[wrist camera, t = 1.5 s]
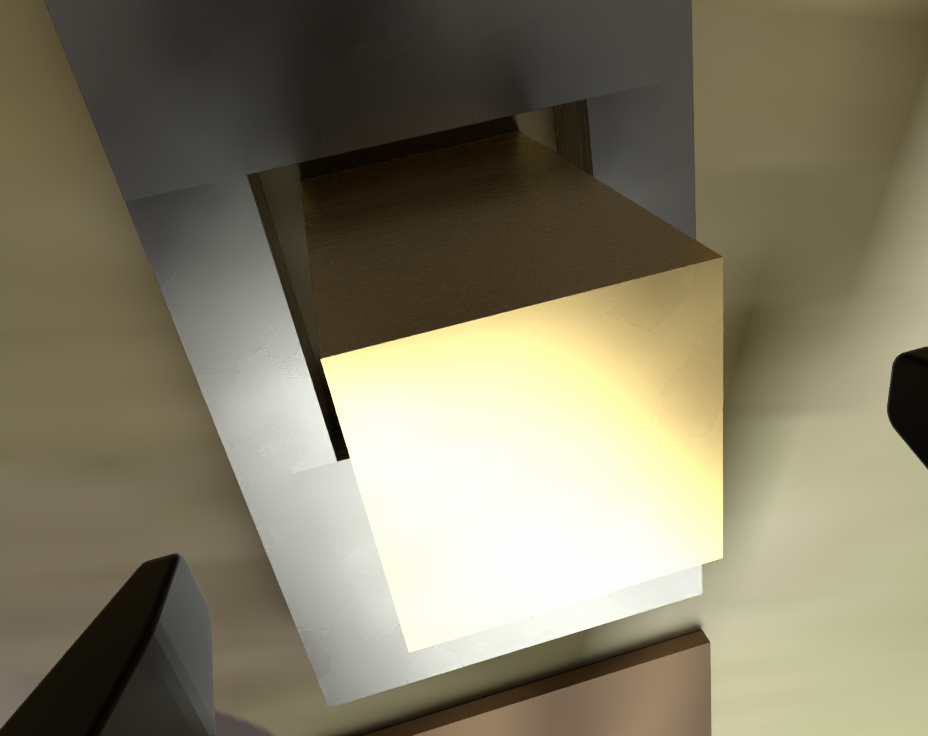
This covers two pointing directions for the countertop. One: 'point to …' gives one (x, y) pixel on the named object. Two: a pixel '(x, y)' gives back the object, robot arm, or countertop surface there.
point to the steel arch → (261, 260)
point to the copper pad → (593, 700)
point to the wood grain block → (517, 380)
